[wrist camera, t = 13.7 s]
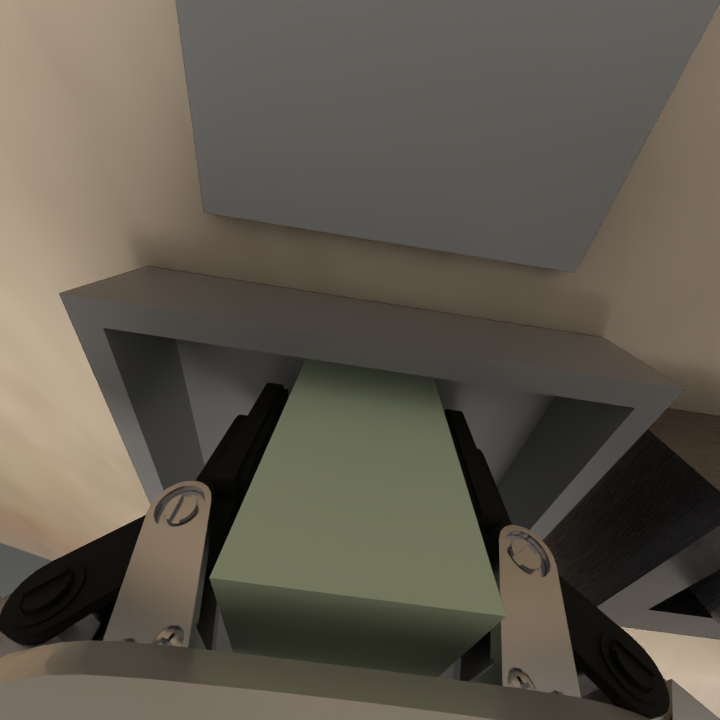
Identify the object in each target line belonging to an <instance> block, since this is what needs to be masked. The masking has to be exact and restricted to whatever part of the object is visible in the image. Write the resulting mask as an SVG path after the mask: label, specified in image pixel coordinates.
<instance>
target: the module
mask: <svg viewBox="0 0 720 720" xmlns="http://www.w3.org/2000/svg"><path fill="white" fill-rule="evenodd" d="M209 578H210V581H211V584H212V588H213V591H214V594H215V597H216V600H217V603H218V606H219V610H220V613H221V616H222V619H223V622H224V625H225V628H226V632H227V635H228V638H229V641H230V644H231V647H232V651H233V653H240V654H248V655H257V656H265V657H274V658H282V659H291V660H299V661H307V662H315V663H323V664H332V665H340V666H348V667H356V668H364V669H372V670H380V671H389V672H397V673H405V674H413V675H421V676H429V677H436V678H437V677H439V676H440V675H441V674H442V673H443V672H444V671H445V670H446V669H448V668H449V667H450V666H451V665H452V664H453V663H454V662H455V661H457V660H458V659H459V658H460V657H461V656H462V655H463V654H464V653H465V652H467V651H468V650H469V649H470V648H471V647H472V646H473V645H474V644H476V643H477V642H478V641H479V640H480V639H481V638H482V637H483V636H485V635H486V634H487V633H488V632H489V631H490V630H491V629H492V628H494V627H495V626H496V625H497V624H498V623H499V622H500V621H501V620H502V619H504V618H505V617H506V614H505V611H504V608H503V604H502V601H501V598H500V594H499V591H498V588H497V585H496V581H495V578H494V575H493V571H492V568H491V565H490V562H489V558H488V555H487V552H486V548H485V545H484V542H483V538H482V535H481V532H480V529H479V525H478V522H477V519H476V515H475V512H474V509H473V506H472V502H471V499H470V496H469V492H468V489H467V486H466V483H465V479H464V476H463V473H462V469H461V466H460V463H459V460H458V456H457V453H456V450H455V446H454V443H453V440H452V437H451V433H450V430H449V427H448V423H447V420H446V417H445V413H444V410H443V407H442V404H441V400H440V397H439V394H438V390H437V387H436V384H435V381H434V378H433V377H426V376H420V375H413V374H406V373H400V372H393V371H386V370H380V369H373V368H366V367H360V366H353V365H347V364H340V363H333V362H327V361H320V360H313V359H307V358H306V360H305V362H304V364H303V366H302V369H301V371H300V373H299V375H298V378H297V380H296V382H295V385H294V387H293V389H292V391H291V394H290V396H289V398H288V400H287V403H286V405H285V407H284V410H283V412H282V414H281V416H280V419H279V421H278V423H277V425H276V428H275V430H274V432H273V434H272V437H271V439H270V441H269V444H268V446H267V448H266V450H265V453H264V455H263V457H262V459H261V462H260V464H259V466H258V469H257V471H256V473H255V475H254V478H253V480H252V482H251V484H250V487H249V489H248V491H247V493H246V496H245V498H244V500H243V503H242V505H241V507H240V509H239V512H238V514H237V516H236V518H235V521H234V523H233V525H232V528H231V530H230V532H229V534H228V537H227V539H226V541H225V543H224V546H223V548H222V550H221V553H220V555H219V557H218V559H217V562H216V564H215V566H214V568H213V571H212V573H211V575H210V577H209Z"/></svg>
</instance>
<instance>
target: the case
mask: <svg viewBox="0 0 720 720" xmlns="http://www.w3.org/2000/svg"><path fill="white" fill-rule="evenodd" d="M59 295H60V297H61V299H62V301H63V304H64V306H65V308H66V311H67V313H68V315H69V318H70V320H71V322H72V325H73V327H74V329H75V331H76V334H77V336H78V338H79V341H80V343H81V345H82V348H83V350H84V352H85V355H86V357H87V359H88V362H89V364H90V366H91V368H92V371H93V373H94V375H95V378H96V380H97V382H98V385H99V387H100V389H101V392H102V394H103V396H104V398H105V401H106V403H107V405H108V408H109V410H110V412H111V415H112V417H113V419H114V422H115V424H116V426H117V428H118V431H119V433H120V435H121V438H122V440H123V442H124V445H125V447H126V449H127V452H128V454H129V456H130V458H131V461H132V463H133V465H134V468H135V470H136V472H137V475H138V477H139V479H140V482H141V484H142V486H143V488H144V491H145V493H146V495H147V498H148V500H149V502H150V505H151V503H152V502H153V501H154V499H155V498H156V497H157V496H158V495H159V494H160V493H162V492H163V491H164V490H166V489H167V488H169V487H171V486H173V485H175V484H177V483H180V482H184V481H195V480H196V479H197V477H198V476H199V474H200V473H201V471H202V469H203V468H204V466H205V465H206V463H207V462H208V460H209V458H210V457H211V455H212V454H213V452H214V451H215V449H216V447H217V446H218V444H219V443H220V441H221V440H222V438H223V437H224V435H225V433H226V432H227V430H228V429H229V427H230V426H231V424H232V422H233V421H234V419H235V418H236V417H237V416H238V415H239V414H240V415H247V416H248V414H249V412H250V411H251V409H252V407H253V406H254V404H255V402H256V400H257V399H258V397H259V395H260V394H261V392H262V390H263V389H264V387H265V385H266V384H267V383H275V384H282V385H283V386H284V389H288V398H289V396H290V394H291V391H292V389H293V387H294V385H295V382H296V380H297V378H298V375H299V373H300V371H301V369H302V366H303V364H304V362H305V360H306V358H307V359H313V360H320V361H327V362H333V363H340V364H347V365H353V366H360V367H366V368H373V369H380V370H386V371H393V372H400V373H406V374H413V375H420V376H426V377H433V378H434V381H435V384H436V387H437V390H438V394H439V397H440V400H441V404H442V407H443V410H444V411H445V410H446V409H451V410H458V411H462V412H463V414H464V417H465V419H466V422H467V424H468V427H469V429H470V432H471V434H472V437H473V440H474V442H475V445H476V447H477V449H480V450H481V451H482V453H483V454H484V456H485V459H486V461H487V464H488V466H489V469H490V471H491V474H492V476H493V479H494V481H495V484H496V486H497V488H498V491H499V493H500V496H501V498H502V501H503V503H504V506H505V508H506V511H507V513H508V515H509V518H510V520H511V523H512V525H518V526H521V527H524V528H526V529H528V530H530V531H531V532H533V533H534V534H535V535H537V536H538V537H539V538H540V539H541V540H543V539H544V538H545V537H546V536H547V535H548V534H549V533H550V532H551V531H552V530H553V529H554V528H555V527H556V526H557V525H558V523H559V522H560V521H561V520H562V519H563V518H564V517H565V516H566V515H567V514H568V513H569V512H570V511H571V510H572V509H573V508H574V506H575V505H576V504H577V503H578V502H579V501H580V500H581V499H582V498H583V497H584V496H585V495H586V494H587V493H588V492H589V491H590V490H591V488H592V487H593V486H594V485H595V484H596V483H597V482H598V481H599V480H600V479H601V478H602V477H603V476H604V475H605V474H606V473H607V472H608V470H609V469H610V468H611V467H612V466H613V465H614V464H615V463H616V462H617V461H618V460H619V459H620V458H621V457H622V456H623V455H624V454H625V452H626V451H627V450H628V449H629V448H630V447H631V446H632V445H633V444H634V443H635V442H636V441H637V440H638V439H639V438H640V437H641V435H642V434H643V433H644V432H645V431H646V430H647V429H648V428H649V427H650V426H651V425H652V424H653V423H654V422H655V421H656V420H657V419H658V417H659V416H660V415H661V414H662V413H663V412H664V411H665V410H666V409H667V408H668V407H669V406H670V405H671V404H672V403H673V402H674V401H675V399H676V398H677V397H678V396H679V395H680V394H681V393H682V392H683V391H684V390H685V389H684V388H683V387H681V386H679V385H678V384H676V383H675V382H673V381H672V380H670V379H668V378H667V377H665V376H664V375H662V374H660V373H659V372H657V371H656V370H654V369H653V368H651V367H649V366H648V365H646V364H645V363H643V362H642V361H640V360H638V359H637V358H635V357H634V356H632V355H630V354H629V353H627V352H626V351H624V350H623V349H621V348H619V347H618V346H616V345H615V344H613V343H611V342H610V341H608V340H607V339H605V338H602V337H595V336H589V335H583V334H576V333H570V332H564V331H557V330H551V329H544V328H538V327H532V326H525V325H519V324H512V323H506V322H500V321H493V320H487V319H481V318H474V317H468V316H461V315H455V314H449V313H442V312H436V311H430V310H423V309H417V308H410V307H404V306H398V305H391V304H385V303H378V302H372V301H366V300H359V299H353V298H347V297H340V296H334V295H327V294H321V293H315V292H308V291H302V290H295V289H289V288H283V287H276V286H270V285H264V284H257V283H251V282H244V281H238V280H232V279H225V278H219V277H212V276H206V275H200V274H193V273H187V272H181V271H174V270H168V269H161V268H155V267H149V266H146V267H143V268H139V269H136V270H133V271H130V272H126V273H123V274H120V275H117V276H113V277H110V278H107V279H104V280H100V281H97V282H94V283H91V284H87V285H84V286H81V287H78V288H74V289H71V290H68V291H65V292H62V293H59Z"/></svg>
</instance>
